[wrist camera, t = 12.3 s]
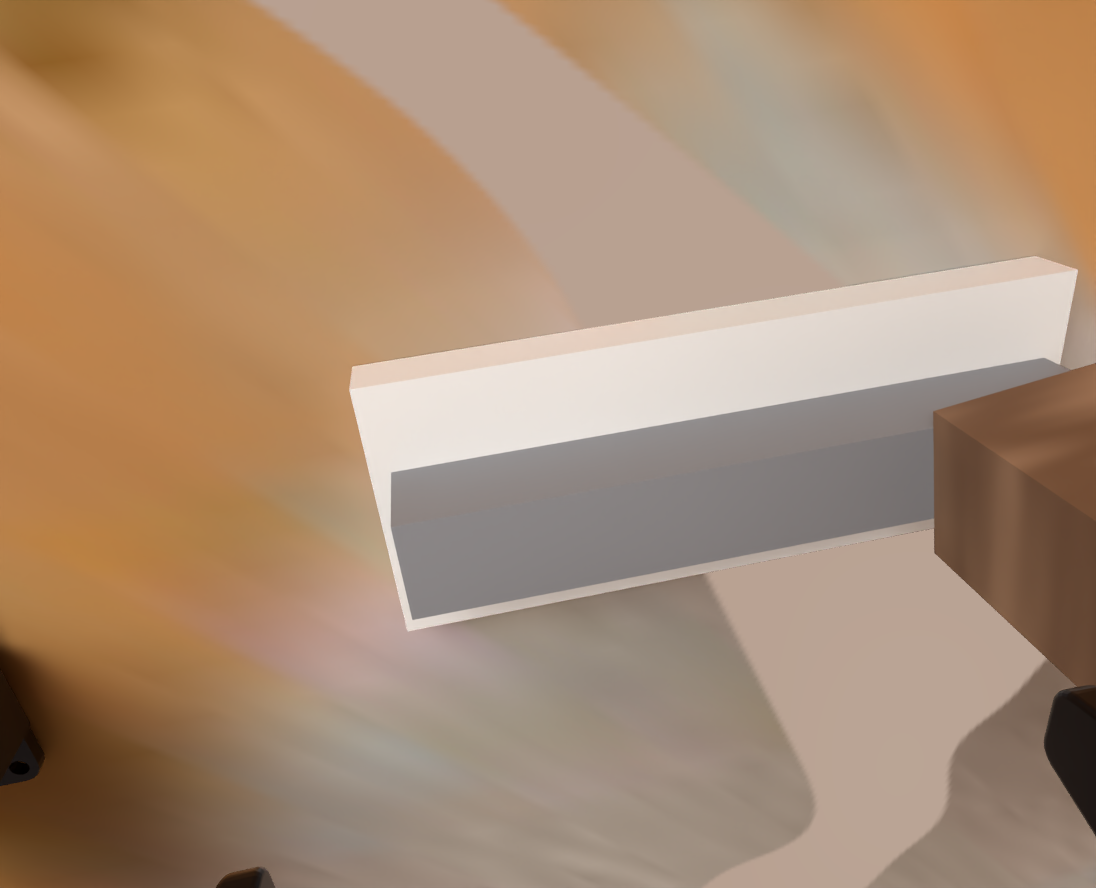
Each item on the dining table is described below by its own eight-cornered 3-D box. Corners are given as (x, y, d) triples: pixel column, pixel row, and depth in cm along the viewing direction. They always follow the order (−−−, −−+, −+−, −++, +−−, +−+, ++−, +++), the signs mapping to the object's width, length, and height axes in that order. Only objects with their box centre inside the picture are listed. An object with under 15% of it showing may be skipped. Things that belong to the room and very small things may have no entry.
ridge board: (406, 597, 23) (409, 698, 19) (352, 366, 20) (343, 436, 16) (997, 484, 25) (1099, 557, 21) (1035, 256, 21) (1162, 297, 18)
